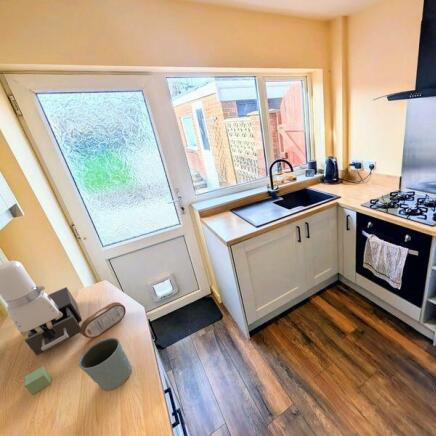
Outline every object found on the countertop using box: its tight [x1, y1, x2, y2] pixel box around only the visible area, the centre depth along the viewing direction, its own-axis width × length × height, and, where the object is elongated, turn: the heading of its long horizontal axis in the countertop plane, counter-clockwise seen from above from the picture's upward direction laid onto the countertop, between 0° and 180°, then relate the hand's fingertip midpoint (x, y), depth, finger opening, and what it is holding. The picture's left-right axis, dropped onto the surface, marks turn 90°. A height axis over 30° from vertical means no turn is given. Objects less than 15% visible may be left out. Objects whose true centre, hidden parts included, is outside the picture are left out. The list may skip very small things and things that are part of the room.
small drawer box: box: [47, 286, 82, 323], centre depth 101 cm, size 16×15×10 cm
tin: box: [79, 301, 127, 339], centre depth 95 cm, size 15×3×8 cm, turn 149°
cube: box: [24, 366, 52, 395], centre depth 77 cm, size 4×4×4 cm
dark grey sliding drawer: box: [24, 306, 81, 357], centre depth 92 cm, size 20×13×8 cm, turn 46°
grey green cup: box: [78, 337, 133, 392], centre depth 75 cm, size 10×10×12 cm
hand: (52, 336), depth 87 cm, fingers closed
